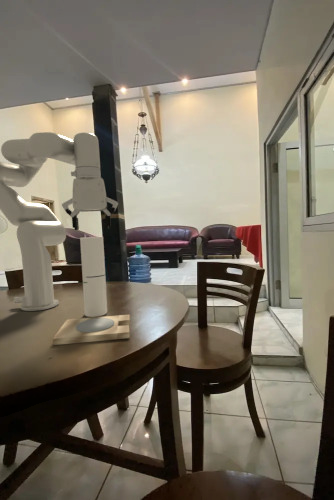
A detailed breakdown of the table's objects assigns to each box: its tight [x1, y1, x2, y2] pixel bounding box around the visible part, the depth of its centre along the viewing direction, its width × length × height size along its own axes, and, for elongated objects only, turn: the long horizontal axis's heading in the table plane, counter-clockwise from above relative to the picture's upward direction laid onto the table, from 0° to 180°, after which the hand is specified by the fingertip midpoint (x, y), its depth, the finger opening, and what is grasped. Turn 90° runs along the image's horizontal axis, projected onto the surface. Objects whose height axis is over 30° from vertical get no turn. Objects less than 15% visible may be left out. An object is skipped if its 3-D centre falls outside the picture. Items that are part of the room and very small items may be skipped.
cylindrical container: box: [79, 236, 108, 318], centre depth 85 cm, size 7×7×25 cm
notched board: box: [52, 314, 131, 346], centre depth 70 cm, size 18×14×2 cm
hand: (92, 229), depth 83 cm, fingers open, 9 cm apart
